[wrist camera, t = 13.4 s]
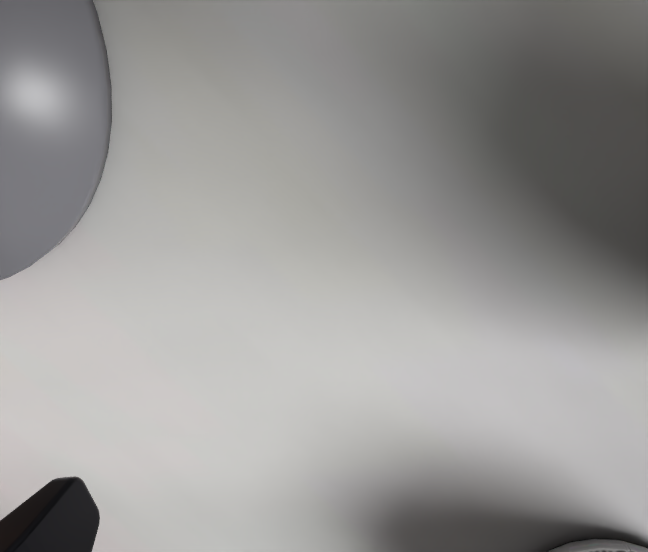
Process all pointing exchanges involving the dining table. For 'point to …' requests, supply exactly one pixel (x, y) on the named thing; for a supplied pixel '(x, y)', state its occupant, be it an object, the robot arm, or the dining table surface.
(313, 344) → the dining table surface
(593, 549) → the decorated jar
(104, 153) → the charcoal plate
